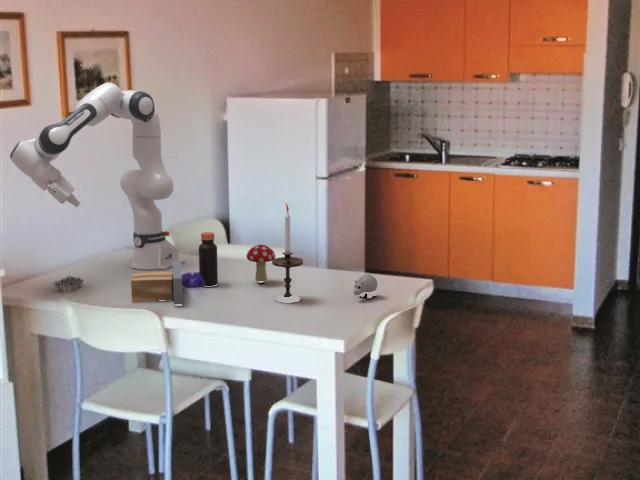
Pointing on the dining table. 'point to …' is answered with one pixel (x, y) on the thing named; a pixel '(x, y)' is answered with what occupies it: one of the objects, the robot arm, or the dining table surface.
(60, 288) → the egg carton
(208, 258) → the bottle
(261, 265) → the decorative mushroom
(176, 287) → the slate board
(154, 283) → the oak block
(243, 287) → the dining table surface
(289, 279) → the candlestick
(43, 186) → the robot arm
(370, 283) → the round bodied animal figurine
